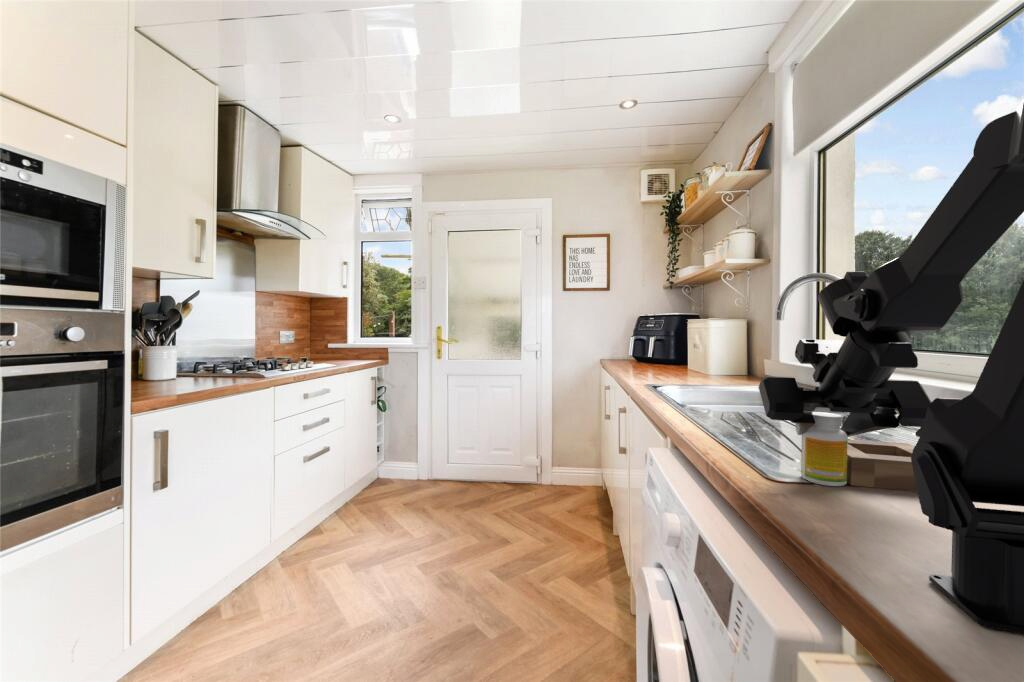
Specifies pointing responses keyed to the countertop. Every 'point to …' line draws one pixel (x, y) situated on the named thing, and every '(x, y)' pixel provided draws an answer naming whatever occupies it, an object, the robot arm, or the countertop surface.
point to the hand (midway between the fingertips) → (819, 433)
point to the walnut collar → (880, 465)
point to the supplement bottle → (825, 451)
